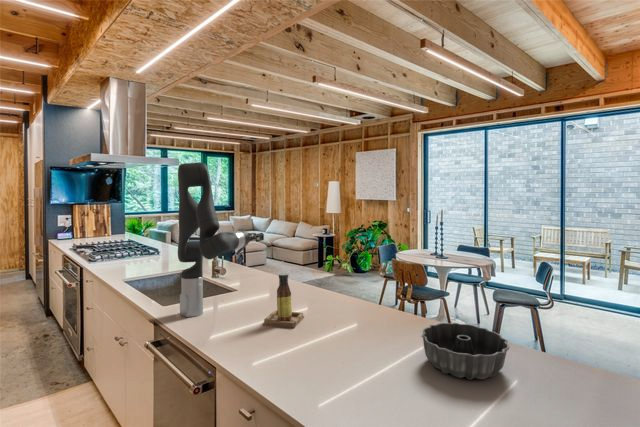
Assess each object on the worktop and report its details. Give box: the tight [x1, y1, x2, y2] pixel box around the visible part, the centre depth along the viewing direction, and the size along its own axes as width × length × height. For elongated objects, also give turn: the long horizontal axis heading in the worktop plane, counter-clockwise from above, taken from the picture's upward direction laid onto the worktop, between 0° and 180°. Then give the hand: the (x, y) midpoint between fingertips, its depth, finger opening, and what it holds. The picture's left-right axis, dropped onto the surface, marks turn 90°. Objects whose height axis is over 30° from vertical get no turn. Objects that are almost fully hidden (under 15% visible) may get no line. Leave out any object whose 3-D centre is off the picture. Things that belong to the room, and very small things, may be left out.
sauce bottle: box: [276, 272, 293, 321], centre depth 161 cm, size 7×6×20 cm
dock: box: [262, 309, 305, 329], centre depth 162 cm, size 14×14×2 cm
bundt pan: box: [421, 322, 510, 381], centre depth 120 cm, size 26×26×10 cm
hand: (253, 234), depth 163 cm, fingers open, 8 cm apart
